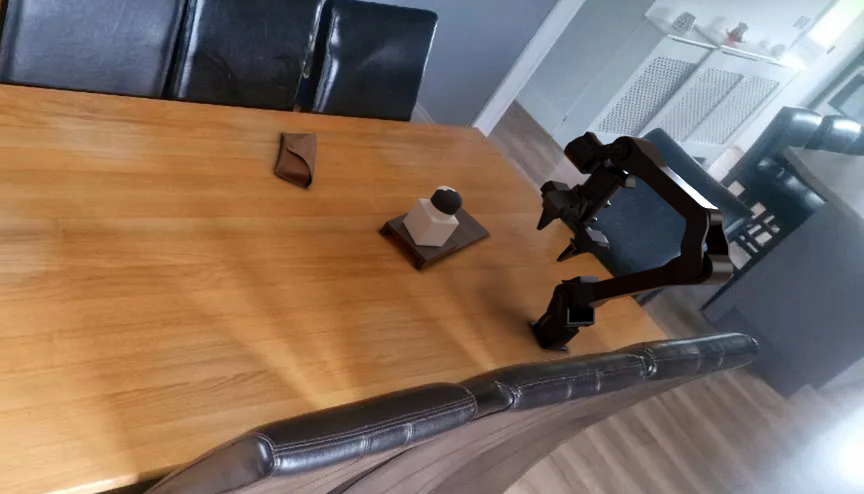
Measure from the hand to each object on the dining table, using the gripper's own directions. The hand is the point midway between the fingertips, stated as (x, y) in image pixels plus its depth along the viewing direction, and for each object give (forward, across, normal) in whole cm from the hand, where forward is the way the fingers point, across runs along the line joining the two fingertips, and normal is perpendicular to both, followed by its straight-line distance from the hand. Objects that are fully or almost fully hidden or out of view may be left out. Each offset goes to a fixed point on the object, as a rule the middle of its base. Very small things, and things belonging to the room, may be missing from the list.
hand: (548, 245), depth 147 cm
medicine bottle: (+10, -9, -22) cm, 26 cm away
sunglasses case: (+13, -31, -46) cm, 57 cm away
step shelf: (+13, -14, -15) cm, 24 cm away
